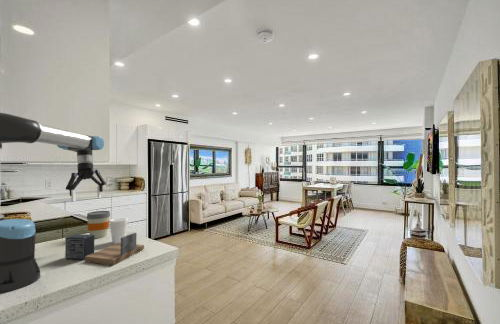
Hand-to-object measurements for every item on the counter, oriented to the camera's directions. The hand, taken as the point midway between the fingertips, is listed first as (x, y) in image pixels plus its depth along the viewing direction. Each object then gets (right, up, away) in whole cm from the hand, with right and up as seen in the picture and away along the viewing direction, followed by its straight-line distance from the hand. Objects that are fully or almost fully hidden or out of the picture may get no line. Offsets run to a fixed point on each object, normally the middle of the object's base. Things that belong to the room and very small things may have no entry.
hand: (86, 199), depth 133 cm
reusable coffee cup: (-3, -26, +15) cm, 30 cm away
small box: (+10, -25, -19) cm, 33 cm away
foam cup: (+16, -26, +4) cm, 30 cm away
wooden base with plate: (+27, -25, -17) cm, 40 cm away
